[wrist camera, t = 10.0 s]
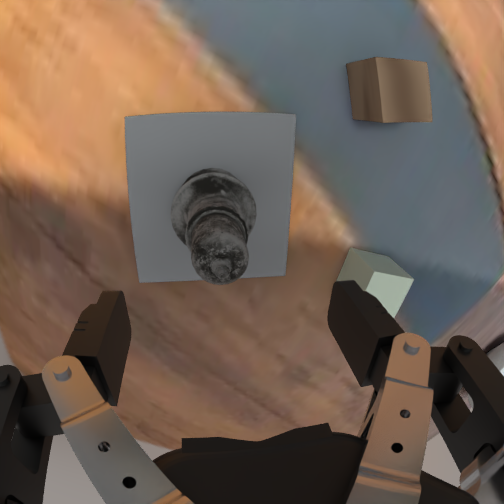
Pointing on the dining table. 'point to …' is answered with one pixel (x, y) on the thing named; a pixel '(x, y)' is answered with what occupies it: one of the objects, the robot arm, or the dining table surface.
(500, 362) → the cereal bowl
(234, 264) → the salt shaker
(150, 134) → the serving board
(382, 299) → the sage block
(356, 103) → the walnut block
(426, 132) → the dining table surface
